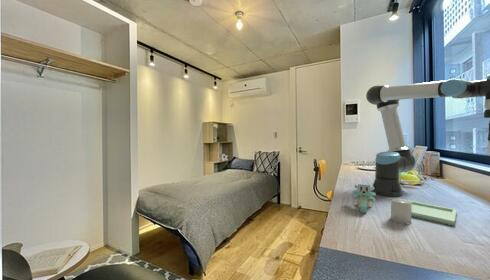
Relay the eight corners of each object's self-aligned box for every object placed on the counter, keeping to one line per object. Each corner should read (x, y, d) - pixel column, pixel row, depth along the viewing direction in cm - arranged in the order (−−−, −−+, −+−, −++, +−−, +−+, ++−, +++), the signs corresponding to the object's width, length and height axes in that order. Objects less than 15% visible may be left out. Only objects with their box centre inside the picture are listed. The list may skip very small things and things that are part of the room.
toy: (356, 212, 99) (349, 179, 105) (357, 216, 110) (350, 185, 116) (383, 211, 95) (374, 176, 101) (380, 214, 106) (372, 183, 112)
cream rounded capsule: (388, 220, 93) (389, 201, 92) (392, 215, 98) (393, 197, 97) (409, 225, 88) (410, 205, 87) (412, 220, 93) (413, 201, 92)
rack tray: (393, 212, 101) (393, 208, 101) (401, 203, 113) (401, 199, 113) (454, 226, 87) (454, 221, 86) (456, 213, 98) (456, 209, 98)
